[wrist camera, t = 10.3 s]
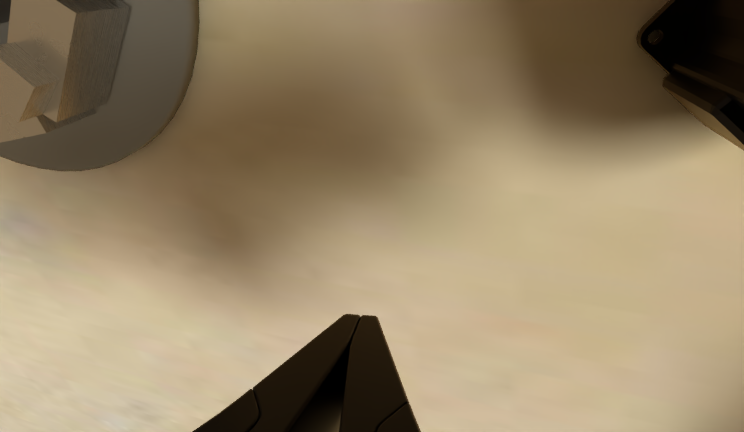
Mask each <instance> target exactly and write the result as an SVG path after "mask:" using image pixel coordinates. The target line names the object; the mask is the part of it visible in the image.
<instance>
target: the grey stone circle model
mask: <svg viewBox="0 0 744 432" xmlns="http://www.w3.org/2000/svg"><path fill="white" fill-rule="evenodd" d="M121 1H122V2H124V3H125V4H127V5H128V6H130V11H129V15H128V19H127V23H126V27H125V31H124V35H123V39H122V43H121V47H120V51H119V55H118V59H117V63H116V67H115V71H114V76H113V80H112V84H111V88H110V92H109V96H108V100H107V103H106V104H104V105H101V106H98V107H96V108H94V109H95V111H96V114H93V115H91V116H88V117H86V118H83V119H81V120H78V121H76V122H73V123H71V124H68V125H66V126H63V127H60V128H58V129H55V130H53V131H50V132H48V133H44V134H39V135H35V136H30V137H25V138H20V139H16V140H11V141H6V142H1V143H0V156H1V157H4V158H6V159H9V160H12V161H15V162H17V163H21V164H25V165H29V166H33V167H37V168H41V169H49V170H57V171H82V170H89V169H95V168H100V167H103V166H106V165H109V164H112V163H114V162H117V161H119V160H121V159H123V158H124V157H126V156H128V155H130V154H132V153H133V152H135V151H137V150H139V149H140V148H142V147H144V146H146V145H147V144H148V143H149V142H150V141H152V140H153V139H154V138H155V137H156V136H158V135H159V134H160V133H161V132H162V130H163V129H164V128H165V127H166V126H167V124H168V123H169V122H170V121H171V119H172V118H173V117H174V115H175V113H176V111H177V109H178V108H179V106H180V104H181V102H182V101H183V99H184V96H185V93H186V91H187V88H188V85H189V82H190V80H191V77H192V72H193V68H194V63H195V58H196V53H197V45H198V32H199V3H198V0H121ZM10 8H11V0H0V45H1V44H7V39H8V29H9V18H10Z"/></svg>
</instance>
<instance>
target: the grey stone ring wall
mask: <svg viewBox="0 0 744 432" xmlns="http://www.w3.org/2000/svg"><path fill="white" fill-rule="evenodd" d="M129 11H130V6H128V5H127V4H125V3H124V2H122V1H121V0H11V8H10V18H9V29H8V39H7V44H1V45H0V143H1V142H6V141H11V140H16V139H20V138H25V137H30V136H35V135H39V134H44V133H48V132H50V131H53V130H55V129H58V128H60V127H63V126H66V125H68V124H71V123H73V122H76V121H78V120H81V119H83V118H86V117H88V116H91V115H93V114H96V111H95V109H94V108H96V107H98V106H101V105H104V104H106V103H107V100H108V96H109V92H110V88H111V84H112V80H113V76H114V71H115V67H116V63H117V59H118V55H119V51H120V47H121V43H122V39H123V35H124V31H125V27H126V23H127V19H128V15H129Z"/></svg>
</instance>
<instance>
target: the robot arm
mask: <svg viewBox="0 0 744 432" xmlns="http://www.w3.org/2000/svg"><path fill="white" fill-rule="evenodd" d="M654 30H658V31H659V37H658V38H657V40H656V41H654V42H652V43H649V42H648V36H649V34H650V33H651V32H652V31H654ZM637 43H638V45H639V46H640V48H641V49H643V50H644V51H645V52H646V53H647V54H648V55H649V56H650V57H651V58H652V59H653V60H654V61H655V62H656V63H657V64H658V65H659V66H661V67H662V68H663V69H664V70H665V71H666V72H667V73H668V75H667V76H666V77H665V78H664V79H663V87H664V88H665V89H666V90H667V91H668V92H669V93H670V94H671V95H672V96H674V97H675V98H676V99H677V100H678V101H679V102H680V103H681V104H682V105H683V106H684V107H685V108H686V109H687V110H689V111H690V112H691V113H692V114H693V115H694V116H695V117H696V118H697V119H698V120H699V121H700V122H701V123H702V124H704V125H705V126H707V127H708V128H710V129H711V130H713V131H714V132H716V133H718V134H719V135H721V136H722V137H724V138H725V139H727V140H728V141H730V142H732V143H733V144H735V145H736V146H738V147H739V148H741V149H742V150H744V0H670V1H669V2H668V3H667V4H666V5H665V6H664V7H663V8H662V9H660V10H659V11H658V12H657V13H656V14H655V15H654V16H653V17H652V18H651V19H650V20H649V21H648V22H647V23H646V24H645V25H644V26H643V27H642V28H641V29H640V31H639V32H638V35H637ZM193 432H421V431H420V429H419V426H418V424H417V421H416V419H415V417H414V414H413V411H412V409H411V406H410V404H409V401H408V399H407V396H406V393H405V391H404V388H403V385H402V382H401V380H400V377H399V374H398V372H397V369H396V366H395V363H394V361H393V358H392V355H391V353H390V350H389V347H388V344H387V342H386V339H385V336H384V334H383V331H382V328H381V325H380V323H379V320H378V318H377V317H376V316H369V315H363V316H361V317H360V316H359V315H354V314H345V315H343V316H342V317H341V318H339V319H338V320H337V321H336V322H334V323H333V324H332V325H331V326H329V327H328V328H327V329H326V330H324V331H323V332H322V333H321V334H319V335H318V336H317V337H316V338H314V339H313V340H312V341H311V342H309V343H308V344H307V345H306V346H304V347H303V348H302V349H301V350H299V351H298V352H297V353H296V354H294V355H293V356H292V357H291V358H289V359H288V360H287V361H286V362H284V363H283V364H282V365H281V366H279V367H278V368H277V369H276V370H274V371H273V372H272V373H271V374H269V375H268V376H267V377H266V378H264V379H263V380H262V381H261V382H259V383H258V384H257V385H256V386H254V387H253V390H252V389H250V390H249V391H247V392H246V393H245V394H244V395H242V396H241V397H240V398H239V399H237V400H236V401H235V402H233V403H232V404H231V405H229V406H228V407H227V408H225V409H224V410H223V411H221V412H220V413H219V414H217V415H216V416H214V417H213V418H212V419H210V420H209V421H207V422H206V423H204V424H203V425H201V426H200V427H199V428H197V429H196V430H194V431H193Z"/></svg>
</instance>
